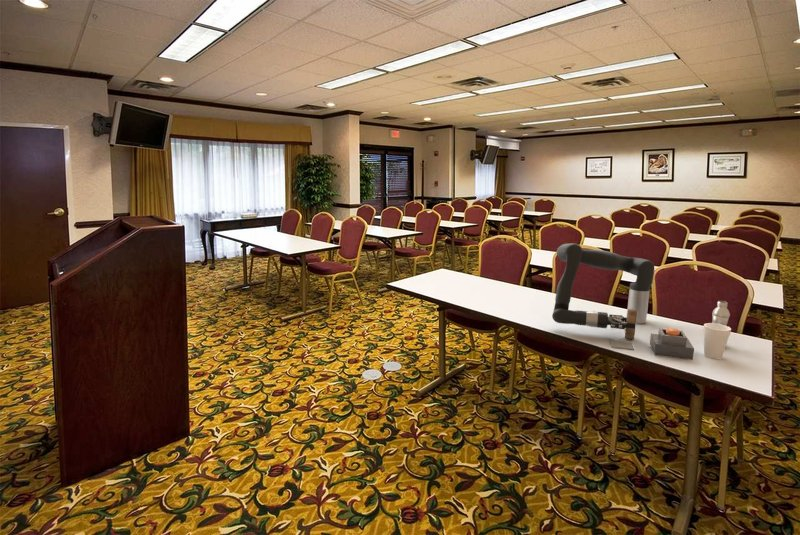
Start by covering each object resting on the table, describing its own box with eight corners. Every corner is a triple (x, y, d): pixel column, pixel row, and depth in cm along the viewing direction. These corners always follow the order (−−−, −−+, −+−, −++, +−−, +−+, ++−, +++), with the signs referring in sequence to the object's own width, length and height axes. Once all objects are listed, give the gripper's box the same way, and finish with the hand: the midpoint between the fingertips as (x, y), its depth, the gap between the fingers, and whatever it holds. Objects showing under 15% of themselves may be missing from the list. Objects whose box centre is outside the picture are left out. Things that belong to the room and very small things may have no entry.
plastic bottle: (721, 342, 204) (727, 300, 200) (727, 347, 198) (734, 304, 193) (705, 341, 206) (711, 299, 202) (711, 346, 199) (717, 303, 195)
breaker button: (664, 333, 195) (665, 327, 195) (677, 334, 194) (678, 328, 193) (666, 336, 191) (667, 331, 190) (680, 338, 189) (680, 332, 188)
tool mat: (610, 339, 208) (610, 338, 207) (631, 342, 204) (631, 341, 204) (611, 347, 198) (611, 346, 198) (634, 350, 195) (634, 348, 195)
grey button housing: (649, 343, 203) (651, 326, 201) (685, 347, 198) (687, 329, 196) (654, 355, 190) (656, 336, 188) (692, 359, 185) (695, 340, 183)
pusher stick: (624, 336, 212) (627, 308, 209) (633, 337, 210) (636, 309, 207) (624, 339, 208) (628, 310, 205) (634, 340, 207) (637, 311, 204)
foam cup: (701, 349, 195) (705, 321, 193) (727, 355, 190) (731, 326, 187) (698, 356, 188) (702, 327, 185) (725, 362, 182) (730, 332, 180)
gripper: (597, 316, 206) (636, 320, 200) (596, 307, 219) (633, 311, 213) (596, 331, 207) (635, 336, 201) (595, 322, 220) (631, 326, 214)
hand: (634, 323), depth 207 cm, fingers open, 8 cm apart
